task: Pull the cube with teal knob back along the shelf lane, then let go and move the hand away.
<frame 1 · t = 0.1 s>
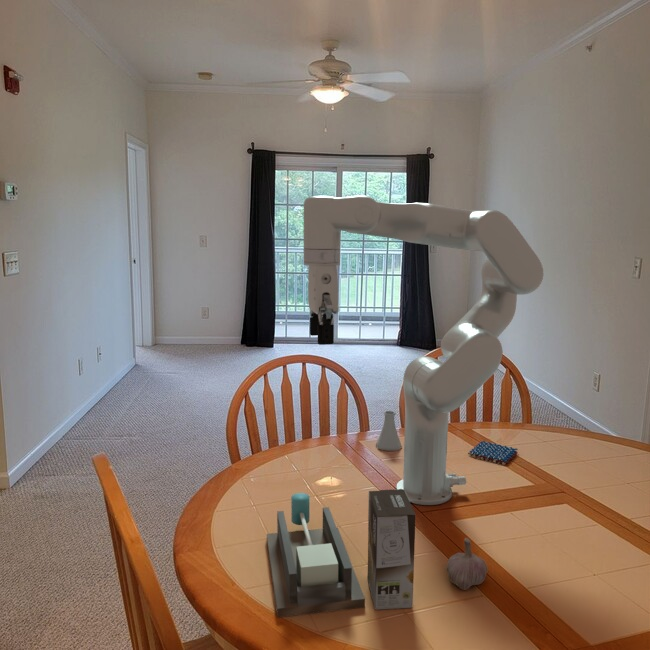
hand: (321, 339, 118), 37 cm above the table, tool pointing down, fingers open, 9 cm apart
flask: (388, 447, 156), on the table
coffee box: (388, 592, 94), on the table
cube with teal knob: (308, 537, 102), point 4 cm above the table, slide at 0.0 cm
shelf lane: (311, 570, 99), on the table
woven mat: (492, 457, 151), on the table
garlic bulb: (465, 581, 97), on the table
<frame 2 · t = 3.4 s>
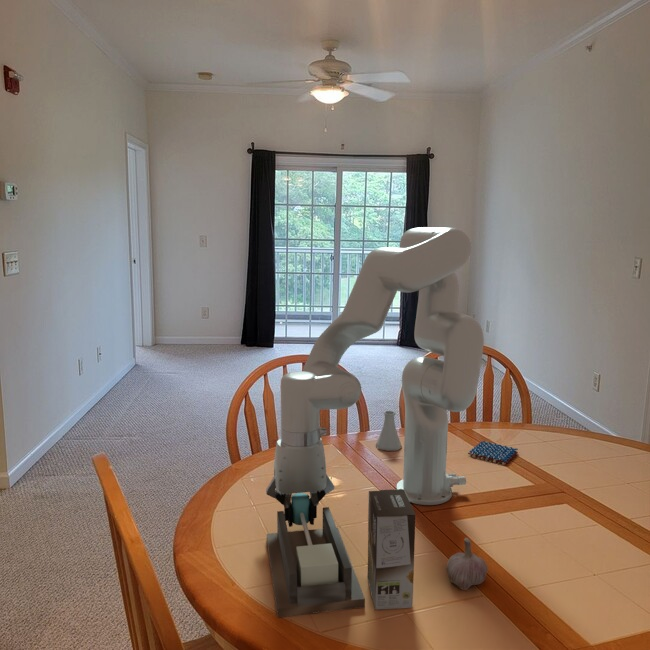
hand: (300, 521, 113), 2 cm above the table, tool pointing down, fingers closed on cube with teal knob, 3 cm apart
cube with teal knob: (308, 537, 102), point 4 cm above the table, slide at 0.0 cm, touching gripper
everything else where it was.
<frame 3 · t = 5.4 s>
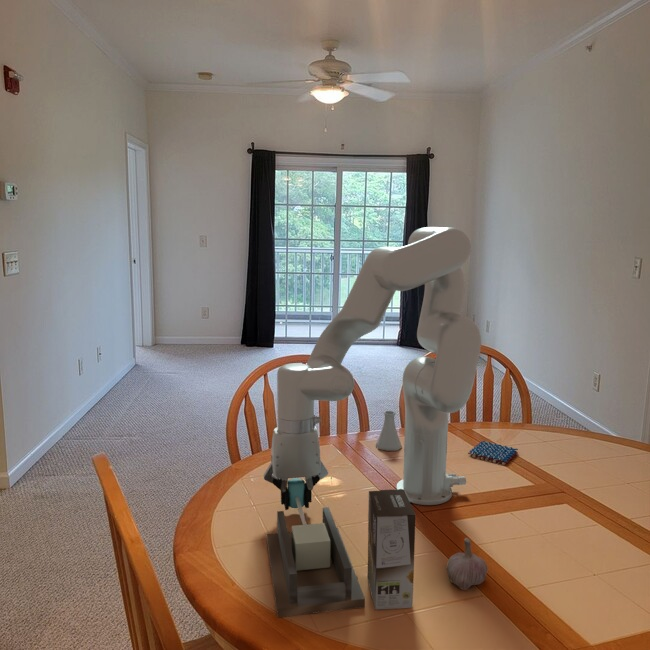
hand: (296, 505, 119), 2 cm above the table, tool pointing down, fingers closed on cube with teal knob, 3 cm apart
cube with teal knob: (303, 518, 108), point 4 cm above the table, slide at 6.8 cm, touching gripper
everything else where it was.
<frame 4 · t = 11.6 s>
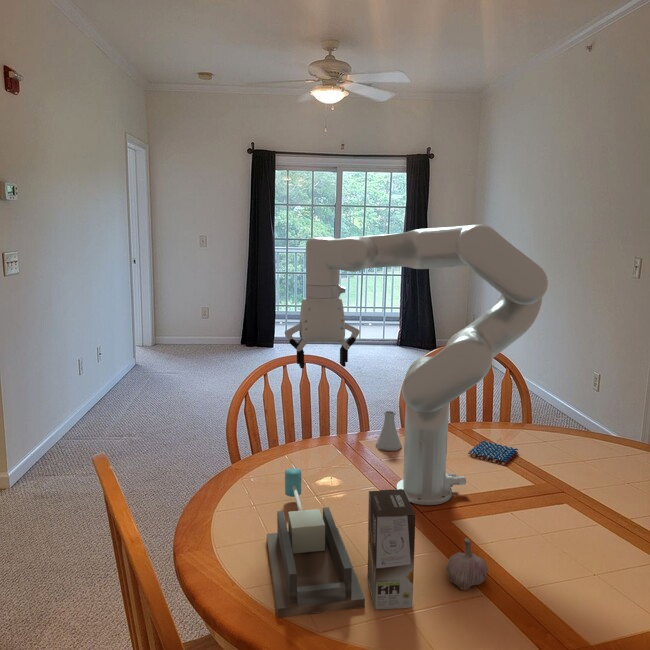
hand: (322, 366, 130), 28 cm above the table, tool pointing down, fingers open, 9 cm apart
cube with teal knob: (299, 505, 114), point 4 cm above the table, slide at 12.0 cm
everything else where it was.
at the end: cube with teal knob slide at 12.0 cm; the gripper is holding nothing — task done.
